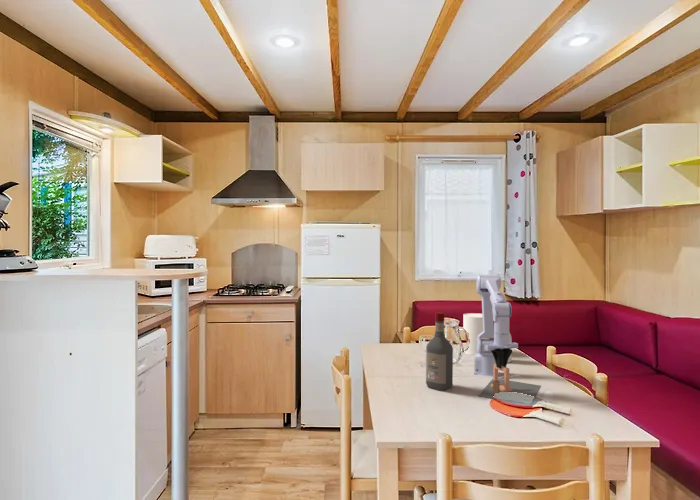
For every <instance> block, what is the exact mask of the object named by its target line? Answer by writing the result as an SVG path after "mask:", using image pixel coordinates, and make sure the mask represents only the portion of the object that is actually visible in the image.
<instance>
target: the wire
mask: <svg viewBox="0 0 700 500" xmlns="http://www.w3.org/2000/svg"><path fill="white" fill-rule="evenodd" d="M502 379H503V380H504V375H502V376H498V380H494V381H493V396H494V394H495V393H499V392H500V382H501V380H502ZM510 379H511V380H512V379H521V375H520V374H516V375H514V374H513V375H509V380H510Z"/></svg>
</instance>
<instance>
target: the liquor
mask: <svg viewBox="0 0 700 500" xmlns="http://www.w3.org/2000/svg"><path fill="white" fill-rule="evenodd" d="M434 320H435V322H434V323H435V325H434V326H435V327H434V328H435V329H434V330H435V331H434V336H433V337H432V338H431V340H430V341H428V343H427V344H426V347H425V348H426V349H425V353H426V354H425V384H426V386H427V388H428V389H432V390H436V391H442V392H443V391H447V390H449V389H451V388H452V387H453V381H454V380H453V376H454V375H453V374H454V372H453V369H454V362H453V359H454V355H453V354H454V348H453V344H451V342H450V341H449V340H448V339H447V338H446V337H445V336H446V335H445V312H443V311H438V312H437V311H435V313H434Z"/></svg>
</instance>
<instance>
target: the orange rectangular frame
mask: <svg viewBox="0 0 700 500" xmlns="http://www.w3.org/2000/svg"><path fill="white" fill-rule="evenodd" d="M499 371H501V372H503V376H504V379H503V380H504V385H502V384H500V391H501V392H511V391H512V389H511V388H509V381H510V379H509V376H510V368H509V367H507V366H506V367H504V366H502V367H501V368H498V367H497V366H496V364H493V377H492V379H493V381H494V380H498V378H499V374H498V372H499ZM491 387H493V384H491Z"/></svg>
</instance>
